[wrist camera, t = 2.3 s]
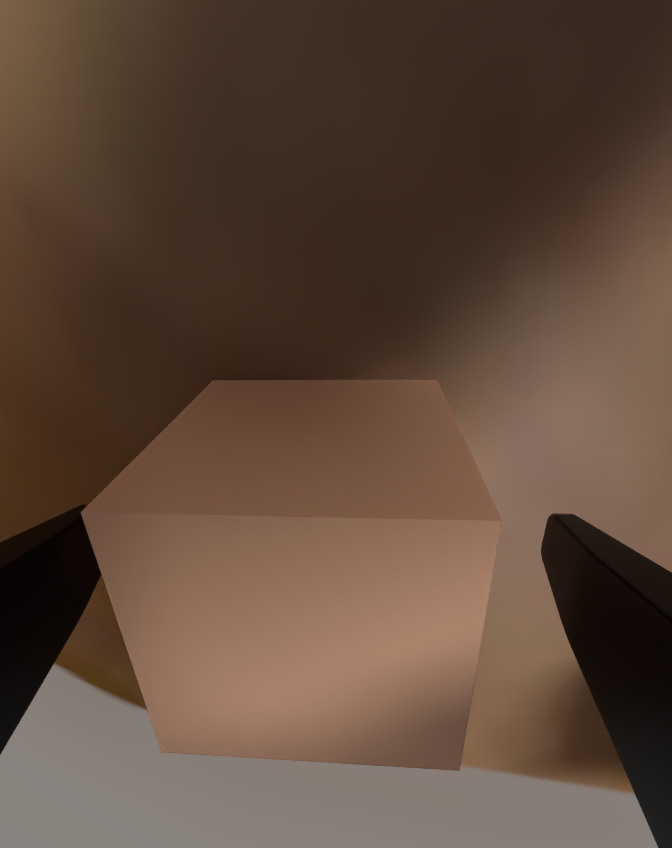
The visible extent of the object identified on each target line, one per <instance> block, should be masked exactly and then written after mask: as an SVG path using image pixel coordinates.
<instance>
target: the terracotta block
mask: <svg viewBox="0 0 672 848" xmlns="http://www.w3.org/2000/svg"><path fill="white" fill-rule="evenodd" d="M81 515H82V518H83V521H84V524H85V527H86V530H87V533H88V536H89V539H90V542H91V545H92V548H93V551H94V553H95V556H96V559H97V562H98V565H99V568H100V571H101V574H102V577H103V580H104V583H105V586H106V589H107V592H108V595H109V598H110V601H111V604H112V607H113V610H114V613H115V616H116V619H117V622H118V624H119V627H120V630H121V633H122V636H123V639H124V642H125V645H126V648H127V651H128V654H129V657H130V660H131V663H132V666H133V669H134V672H135V675H136V678H137V681H138V684H139V687H140V690H141V693H142V695H143V698H144V701H145V704H146V707H147V710H148V713H149V716H150V719H151V722H152V725H153V728H154V731H155V733H156V737H157V740H158V742H159V746H160V749H161V751H162V752H165V753H182V754H197V755H213V756H231V757H246V758H263V759H278V760H294V761H311V762H328V763H343V764H360V765H376V766H392V767H409V768H426V769H441V770H457V771H459V770H460V765H461V759H462V753H463V747H464V741H465V735H466V729H467V723H468V717H469V711H470V705H471V700H472V694H473V688H474V682H475V676H476V670H477V664H478V658H479V652H480V646H481V640H482V635H483V629H484V623H485V617H486V611H487V605H488V599H489V593H490V587H491V581H492V575H493V570H494V564H495V558H496V552H497V546H498V540H499V534H500V528H501V522H502V521H501V518H500V516H499V514H498V512H497V510H496V507H495V505H494V503H493V501H492V499H491V496H490V494H489V492H488V490H487V488H486V485H485V483H484V481H483V479H482V477H481V474H480V472H479V470H478V468H477V466H476V463H475V461H474V459H473V457H472V455H471V452H470V450H469V448H468V446H467V444H466V442H465V439H464V437H463V435H462V433H461V431H460V428H459V426H458V424H457V422H456V420H455V417H454V415H453V413H452V411H451V409H450V406H449V404H448V402H447V400H446V398H445V395H444V393H443V391H442V389H441V387H440V384H439V382H438V380H213V381H212V382H211V383H210V384H209V385H208V386H207V387H206V388H205V389H204V390H203V391H202V392H201V393H200V394H199V395H198V396H197V397H196V398H195V399H194V400H193V401H192V402H191V403H190V404H189V405H188V406H187V407H186V408H185V409H184V410H183V411H182V412H181V413H180V414H179V415H178V416H177V417H176V418H175V419H174V420H173V421H172V422H171V423H170V424H169V425H168V426H167V427H166V428H165V429H164V430H163V431H162V432H161V433H160V434H159V435H158V436H157V437H156V438H155V439H154V440H153V441H152V442H151V443H150V444H149V445H148V446H147V447H146V448H145V449H144V450H143V451H142V452H141V453H140V454H139V455H138V456H137V457H136V458H135V459H134V460H133V461H132V462H131V463H130V464H129V465H128V466H127V467H126V468H125V469H124V470H123V471H122V472H121V473H120V474H119V475H118V476H117V477H116V478H115V479H114V480H113V481H112V482H111V483H110V484H109V485H108V486H107V487H106V488H105V489H104V490H103V491H102V492H101V493H100V494H99V495H98V496H97V497H96V498H95V499H94V500H93V501H92V502H91V503H90V504H89V505H88V506H87V507H86V508H85V509H84V510H83V511H82V512H81Z"/></svg>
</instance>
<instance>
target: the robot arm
mask: <svg viewBox="0 0 672 848" xmlns="http://www.w3.org/2000/svg"><path fill="white" fill-rule="evenodd" d="M88 505H89V504H85V505H81V506H78V507H76V508H74V509H72V510H70V511H67V512H65V513H63V514H61V515H59V516H57V517H54V518H52V519H50V520H48V521H46V522H44V523H41V524H39V525H37V526H35V527H33V528H31V529H28V530H26V531H24V532H22V533H20V534H18V535H16V536H13V537H11V538H9V539H7V540H5V541H3V542H0V754H1V753H2V751H3V749H4V747H5V746H6V744H7V742H8V740H9V739H10V737H11V735H12V734H13V732H14V730H15V729H16V727H17V725H18V724H19V722H20V720H21V718H22V717H23V715H24V713H25V712H26V710H27V708H28V707H29V705H30V703H31V701H32V700H33V698H34V696H35V695H36V693H37V691H38V690H39V688H40V686H41V684H42V683H43V681H44V679H45V677H46V676H47V674H48V672H49V671H50V669H51V667H52V666H53V664H54V662H55V661H56V659H57V657H58V655H59V654H60V652H61V650H62V649H63V647H64V645H65V644H66V642H67V640H68V638H69V637H70V635H71V633H72V632H73V630H74V628H75V626H76V625H77V623H78V621H79V619H80V617H81V616H82V614H83V612H84V610H85V608H86V606H87V604H88V602H89V599H90V597H91V595H92V593H93V591H94V589H95V587H96V584H97V582H98V580H99V578H100V576H101V571H100V568H99V565H98V562H97V559H96V556H95V553H94V551H93V548H92V545H91V542H90V539H89V536H88V533H87V530H86V527H85V524H84V521H83V518H82V515H81V512H82V511H83V510H84V509H85V508H86V507H87V506H88ZM541 555H542V560H543V564H544V567H545V570H546V573H547V576H548V580H549V583H550V586H551V589H552V592H553V596H554V599H555V602H556V605H557V609H558V612H559V615H560V618H561V621H562V624H563V627H564V630H565V633H566V636H567V638H568V641H569V643H570V645H571V648H572V650H573V652H574V655H575V657H576V659H577V662H578V664H579V666H580V669H581V671H582V673H583V675H584V678H585V680H586V682H587V685H588V687H589V689H590V692H591V694H592V696H593V698H594V701H595V703H596V705H597V708H598V710H599V712H600V715H601V717H602V719H603V721H604V724H605V726H606V728H607V731H608V733H609V735H610V738H611V740H612V742H613V744H614V747H615V749H616V751H617V754H618V756H619V758H620V761H621V763H622V765H623V767H624V770H625V772H626V774H627V777H628V779H629V781H630V784H631V786H632V788H633V790H634V793H635V795H636V797H637V800H638V802H639V804H640V806H641V809H642V811H643V813H644V816H645V818H646V820H647V823H648V825H649V827H650V829H651V832H652V834H653V836H654V839H655V841H656V843H657V846H658V848H672V573H671V572H670V571H668V570H666V569H665V568H663V567H661V566H660V565H658V564H656V563H655V562H653V561H651V560H650V559H648V558H646V557H645V556H643V555H641V554H640V553H638V552H636V551H634V550H633V549H631V548H629V547H628V546H626V545H624V544H623V543H621V542H619V541H618V540H616V539H614V538H613V537H611V536H609V535H608V534H606V533H604V532H603V531H601V530H599V529H598V528H596V527H594V526H593V525H591V524H589V523H587V522H586V521H584V520H582V519H581V518H579V517H577V516H576V515H573V514H552V515H550V516H549V518H548V520H547V524H546V528H545V533H544V537H543V542H542V546H541Z"/></svg>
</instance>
